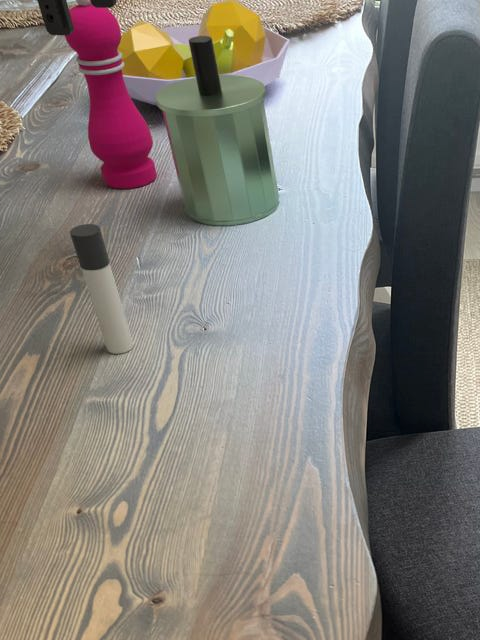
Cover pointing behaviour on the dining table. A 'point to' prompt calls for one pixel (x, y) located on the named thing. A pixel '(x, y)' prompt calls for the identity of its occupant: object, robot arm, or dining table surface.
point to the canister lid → (209, 87)
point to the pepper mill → (110, 100)
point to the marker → (102, 287)
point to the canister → (224, 165)
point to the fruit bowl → (175, 56)
